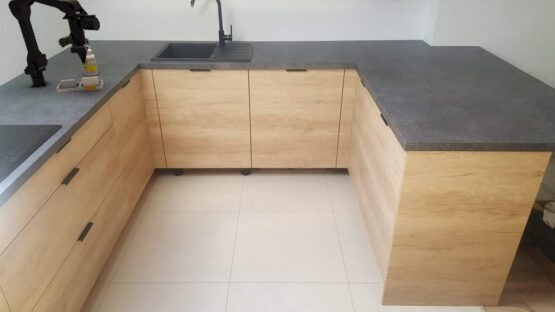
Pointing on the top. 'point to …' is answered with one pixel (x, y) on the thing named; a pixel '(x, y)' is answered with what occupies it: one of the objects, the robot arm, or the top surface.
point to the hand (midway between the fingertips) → (84, 63)
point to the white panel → (90, 80)
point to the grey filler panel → (68, 83)
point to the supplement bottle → (90, 64)
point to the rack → (80, 87)
